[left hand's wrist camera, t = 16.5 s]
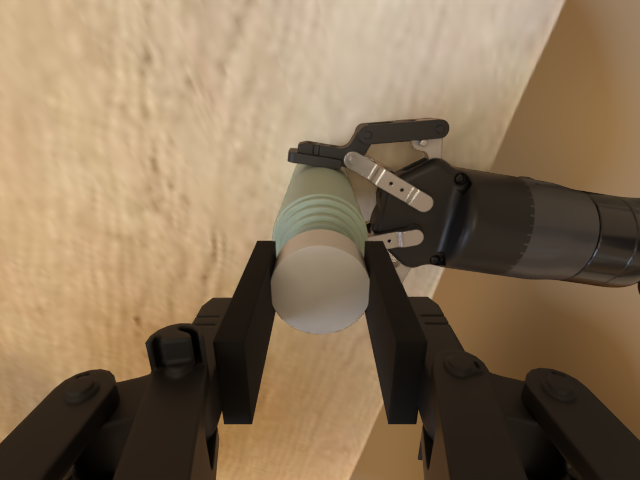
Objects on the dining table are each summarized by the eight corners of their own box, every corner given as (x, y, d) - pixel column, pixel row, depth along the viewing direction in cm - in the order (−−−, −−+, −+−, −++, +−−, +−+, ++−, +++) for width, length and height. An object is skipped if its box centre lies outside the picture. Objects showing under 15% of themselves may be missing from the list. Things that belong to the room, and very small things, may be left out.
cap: (319, 209, 14) (319, 224, 12) (384, 270, 15) (392, 291, 13) (256, 272, 15) (248, 293, 13) (320, 325, 16) (321, 350, 14)
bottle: (312, 214, 33) (302, 355, 15) (282, 170, 32) (231, 267, 13) (357, 187, 32) (405, 302, 14) (328, 140, 31) (341, 200, 12)
